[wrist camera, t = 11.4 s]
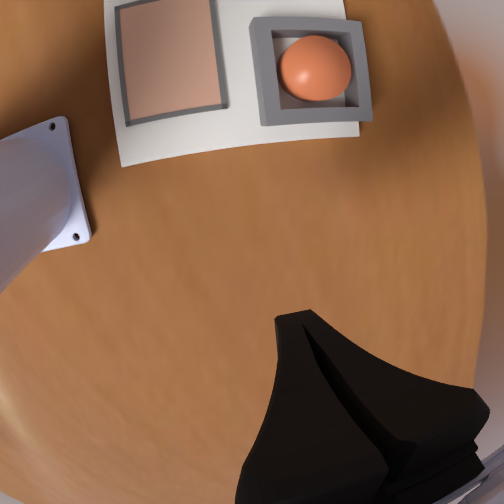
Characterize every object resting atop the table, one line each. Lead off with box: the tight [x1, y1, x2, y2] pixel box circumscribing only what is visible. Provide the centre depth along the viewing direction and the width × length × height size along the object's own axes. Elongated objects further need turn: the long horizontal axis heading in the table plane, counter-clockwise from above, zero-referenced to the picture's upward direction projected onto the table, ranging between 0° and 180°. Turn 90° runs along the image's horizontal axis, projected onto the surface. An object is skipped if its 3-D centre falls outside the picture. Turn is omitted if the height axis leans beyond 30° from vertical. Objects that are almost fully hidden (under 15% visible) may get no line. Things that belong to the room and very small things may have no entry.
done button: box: [276, 35, 351, 102], centre depth 14 cm, size 4×4×2 cm
